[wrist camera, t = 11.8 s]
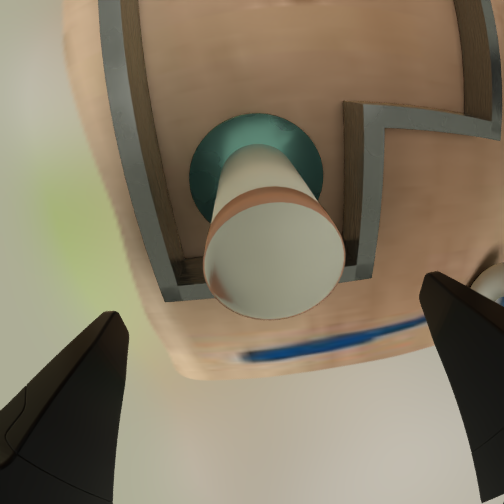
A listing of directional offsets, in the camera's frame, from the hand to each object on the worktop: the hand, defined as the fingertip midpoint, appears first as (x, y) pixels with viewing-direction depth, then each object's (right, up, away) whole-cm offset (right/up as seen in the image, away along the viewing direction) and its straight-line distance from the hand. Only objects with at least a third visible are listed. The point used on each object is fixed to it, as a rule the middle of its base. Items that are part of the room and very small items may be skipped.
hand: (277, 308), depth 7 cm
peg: (0, +6, +9) cm, 11 cm away
